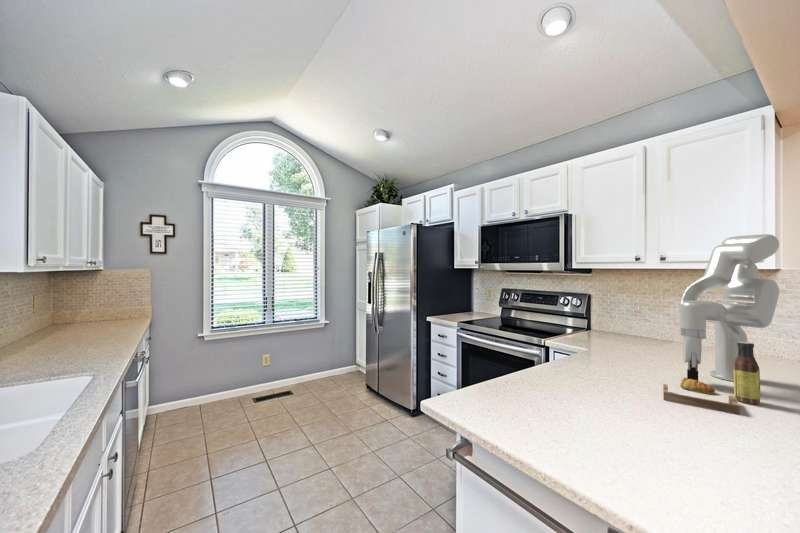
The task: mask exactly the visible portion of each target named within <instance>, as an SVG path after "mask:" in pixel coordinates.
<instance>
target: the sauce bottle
mask: <svg viewBox="0 0 800 533" xmlns="http://www.w3.org/2000/svg"><path fill="white" fill-rule="evenodd" d="M737 346H738V356H737V357H736V359H735V360H734V369H733V372H734V381H733V393H734V394H733V396H734V397H735V399H736V401H737V402H740V403H744V404H747V405H759V404H760V403H761V375H760V374H761V373H760V370H761V369H760V366H759V364H758V362H757V360H756V358H755V355H754V348H755V344H754V343H753V342H749V341H747V342H737Z"/></svg>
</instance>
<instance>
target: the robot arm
mask: <svg viewBox="0 0 800 533" xmlns="http://www.w3.org/2000/svg"><path fill="white" fill-rule="evenodd" d="M779 248H780V241H779V239H778V237H777V236H776V235H774V234H770V233H769V234H768V233H767V234H752V235H751V234H750V235H737V236H730V237H726V238H725V239H723V241H722V242H721V244H718V245H716V246H715V247H714V248H713V249H712V251H711V254H710V256H709V259H708V261H707V265H706V268H705V271H704V273H703V276H701V277H700V278H699V279H697V280H695V281H694V282H692V284H690V285H689V286H688V287H687V288H685V291H684V292H683V294H682V297H681V300H680V303H679V312H680V337H682V338H683V346H682V349H683V350H682V354H683V355H682V358H683V362H684V363H685V364H686V363H687V369H686V374H687V375H686V378H687V379H693V380H698V381H699V370H698V369H699V368H698V367H699V365H701V363H702V352H703V351H702V350H703V347H702V345H703V344H702V342H703V340H705V339H707V336H706V334H707V330H706V329H707V321H708V322H711V321H712V322H714V342H715V343H714V349H715V350H714V370H710V371H709V375H710V376H712V377H714V378H717V379H721V380H723V381H724V380H725V381H729V382H730V381H731V382H734V372H733V369H734V360H735V359H736V357H737V356H738V346H737V342H748V335H747V334H746V332H745V330H744V329H743V328H742V327H748V328H757V329H764V328H765V329H766V328H767V327H769V326H770V325H771V323H772V321H773V318H774V315H775V312H776V307H777V304H778V301H779V294H780V289H779V285H778V283H777V282H776V281H775V280H774V279H773V280H772V279H770V278H764V277H763V278H761V277H758V276H757V275H758V272H759V268H758V265H756V264H758V263H760V262H763V261H764V260H766V259H767V258H769V257H771V256H774V254H776V253H777V252H778V250H779ZM721 287H723V296H725V298H727V299H729V300H727V301H726V300H722V301H718V302H716V301H705V300H698V299H699V297H700V296H701V295H703V294H704V293H706V292H708V291H711V290H714V289H715V290H716V289H718V288H721ZM730 300H732V301H730ZM734 300H735V301H734Z"/></svg>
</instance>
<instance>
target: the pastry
mask: <svg viewBox="0 0 800 533" xmlns="http://www.w3.org/2000/svg"><path fill="white" fill-rule="evenodd" d="M679 386H680V388H682V390H688V391H691V392H695V393H699V394H704V395H706V394H707V395H714V394H715V391H716V389H715V388H714V387H712V386H711V385H708V384H706V383H705V382H702V381H699V379H698V380H693V379H687V377H682V379H681V381H680V384H679Z"/></svg>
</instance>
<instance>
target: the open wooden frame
mask: <svg viewBox="0 0 800 533" xmlns="http://www.w3.org/2000/svg"><path fill="white" fill-rule="evenodd" d="M662 386H663V387H662V388H663V390H662V391H663V395H662V396H663V397H662V398H663V401H667V402H672V403H678V404H682V405H686V406H688V405H689V406H693V407H698V408H703V409H709V410H713V411H719V412H724V413H728V412H729V413H730V414H733V415H741V406H740V405H739V401H738V400H736V399H735V395H732V394H731V395H730V394H729V395H728V402H723V401H716V400H712V399H707V398H701V397H696V396H695V397H694V396H690V395H685V394H680V393H674V392H669V389H668V388H669V387H668V384H666V383H663V385H662ZM729 413H728V414H729Z"/></svg>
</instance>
